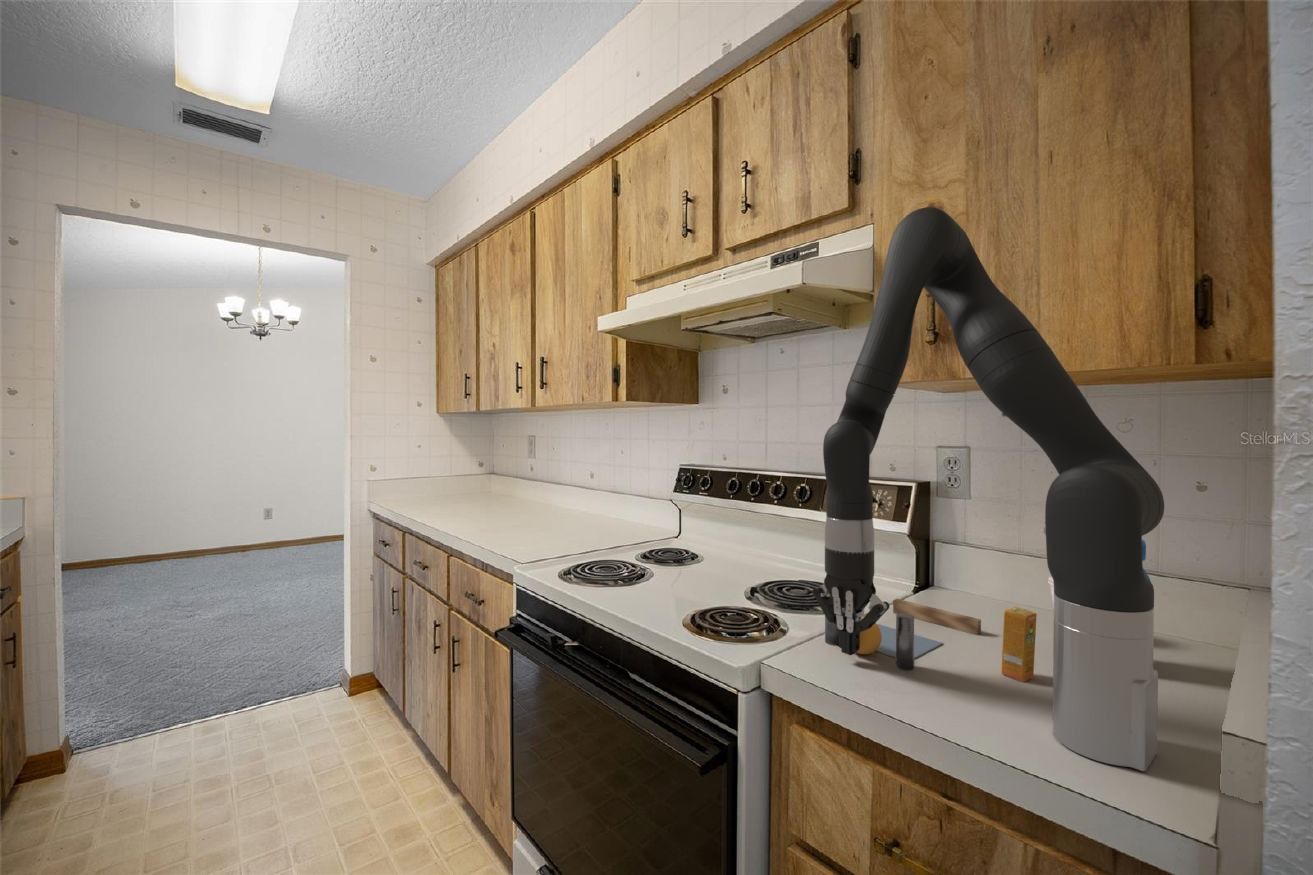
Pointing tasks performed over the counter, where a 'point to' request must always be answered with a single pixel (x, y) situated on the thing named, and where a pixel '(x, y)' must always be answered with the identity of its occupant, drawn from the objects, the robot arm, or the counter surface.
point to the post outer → (831, 633)
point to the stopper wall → (938, 616)
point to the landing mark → (889, 643)
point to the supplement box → (1018, 643)
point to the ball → (870, 640)
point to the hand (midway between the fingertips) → (849, 652)
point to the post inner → (905, 641)
